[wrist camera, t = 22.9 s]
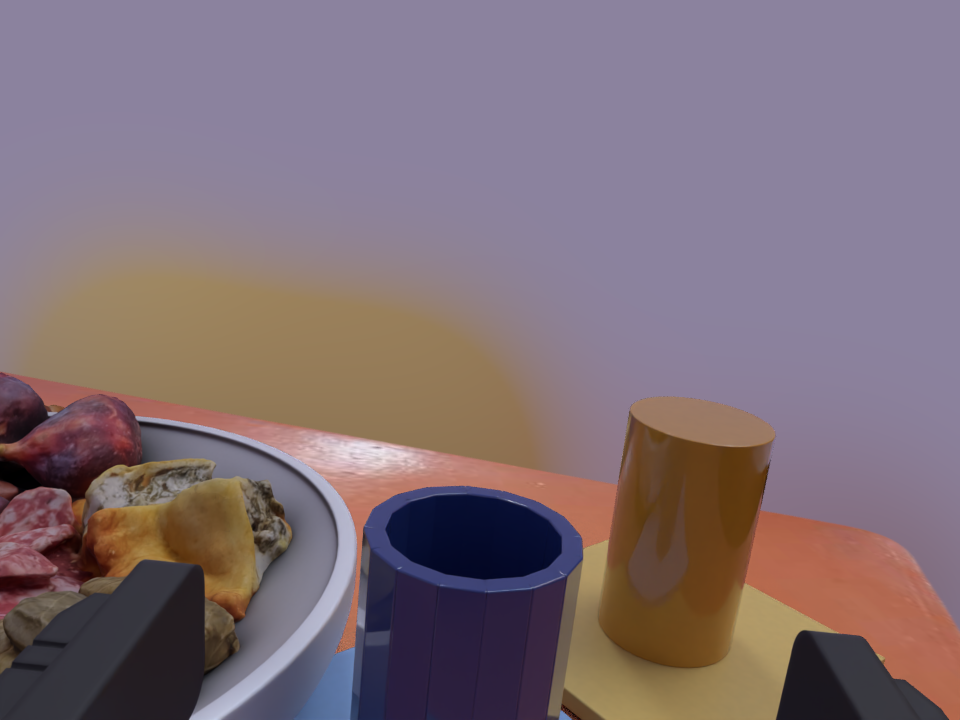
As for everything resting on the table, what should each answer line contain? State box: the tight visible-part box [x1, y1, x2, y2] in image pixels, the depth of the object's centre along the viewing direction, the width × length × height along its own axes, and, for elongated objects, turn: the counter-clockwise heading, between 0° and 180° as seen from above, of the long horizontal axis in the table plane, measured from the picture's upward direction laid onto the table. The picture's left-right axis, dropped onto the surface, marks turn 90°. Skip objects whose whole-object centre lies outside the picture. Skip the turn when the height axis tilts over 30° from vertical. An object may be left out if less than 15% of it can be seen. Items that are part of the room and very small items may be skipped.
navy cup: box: [350, 486, 583, 720], centre depth 24 cm, size 6×6×10 cm
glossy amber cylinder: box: [597, 397, 776, 668], centre depth 36 cm, size 6×6×10 cm
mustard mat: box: [562, 540, 885, 720], centre depth 37 cm, size 14×14×1 cm
